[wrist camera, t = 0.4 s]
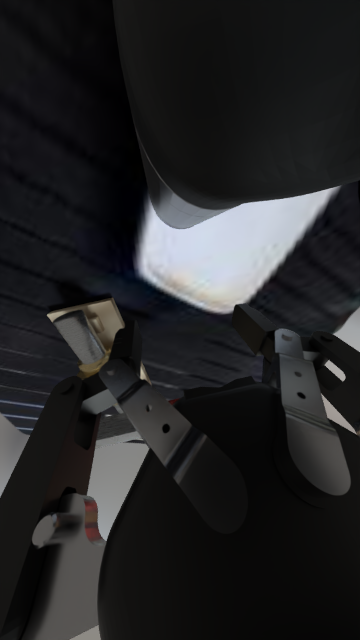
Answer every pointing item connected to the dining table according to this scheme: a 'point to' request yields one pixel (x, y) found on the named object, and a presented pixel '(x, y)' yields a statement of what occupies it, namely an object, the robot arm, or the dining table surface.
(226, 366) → the dining table surface
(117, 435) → the valve lever
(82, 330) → the valve line
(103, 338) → the mounting board
